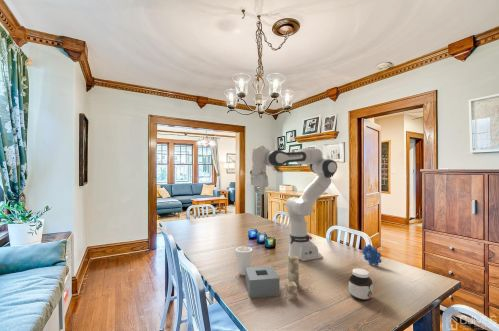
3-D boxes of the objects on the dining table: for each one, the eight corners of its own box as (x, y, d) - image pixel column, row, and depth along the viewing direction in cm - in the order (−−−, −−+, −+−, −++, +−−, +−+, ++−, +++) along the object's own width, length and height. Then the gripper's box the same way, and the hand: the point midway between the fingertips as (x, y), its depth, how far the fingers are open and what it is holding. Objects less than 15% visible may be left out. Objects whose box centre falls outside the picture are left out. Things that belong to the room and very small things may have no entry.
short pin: (293, 294, 111) (293, 281, 111) (297, 299, 107) (296, 285, 107) (285, 295, 110) (285, 282, 110) (288, 299, 106) (288, 286, 106)
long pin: (295, 282, 122) (295, 255, 123) (298, 286, 118) (298, 258, 119) (288, 282, 122) (288, 255, 122) (291, 286, 118) (291, 258, 118)
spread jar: (359, 303, 103) (359, 277, 103) (340, 291, 113) (340, 267, 113) (378, 297, 108) (378, 272, 108) (358, 286, 118) (358, 263, 118)
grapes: (358, 263, 147) (358, 244, 147) (363, 260, 151) (363, 242, 151) (378, 269, 138) (378, 249, 138) (383, 266, 142) (383, 246, 142)
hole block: (271, 281, 123) (271, 265, 124) (279, 295, 110) (279, 278, 110) (245, 283, 121) (245, 267, 121) (249, 298, 107) (249, 280, 108)
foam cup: (239, 277, 128) (239, 253, 128) (233, 270, 136) (233, 248, 136) (255, 273, 132) (255, 250, 133) (247, 267, 141) (247, 245, 141)
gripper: (270, 171, 142) (270, 194, 142) (257, 171, 161) (257, 191, 161) (261, 171, 139) (261, 195, 139) (248, 171, 159) (249, 192, 158)
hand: (259, 193), depth 150 cm, fingers open, 8 cm apart
